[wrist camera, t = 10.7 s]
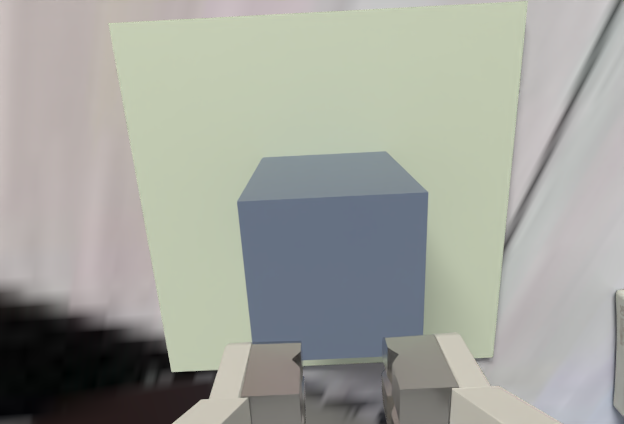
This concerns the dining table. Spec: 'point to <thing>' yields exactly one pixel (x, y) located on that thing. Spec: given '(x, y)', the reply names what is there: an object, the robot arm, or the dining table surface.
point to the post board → (320, 146)
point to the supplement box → (619, 354)
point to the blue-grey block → (334, 252)
